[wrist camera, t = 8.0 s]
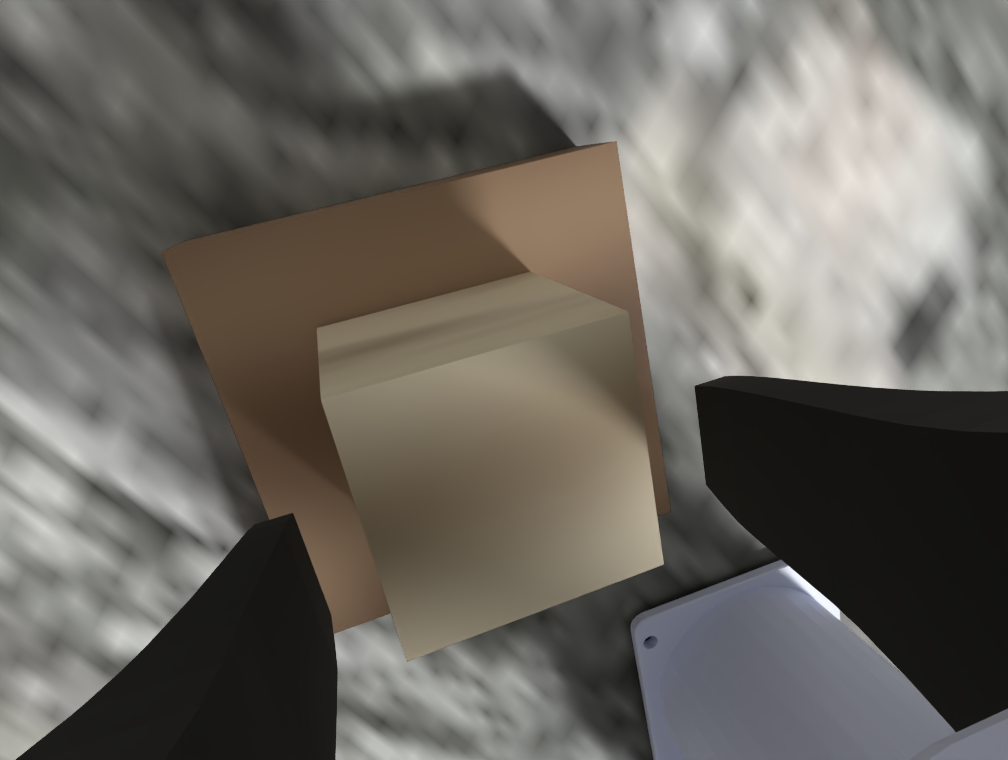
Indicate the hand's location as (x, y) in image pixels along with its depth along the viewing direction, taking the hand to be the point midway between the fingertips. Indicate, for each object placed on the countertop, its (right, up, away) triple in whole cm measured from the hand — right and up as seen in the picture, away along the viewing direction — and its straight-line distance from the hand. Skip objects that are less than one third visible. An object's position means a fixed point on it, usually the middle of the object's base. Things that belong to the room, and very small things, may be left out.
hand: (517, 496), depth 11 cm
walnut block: (-2, +2, +7) cm, 8 cm away
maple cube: (-1, +2, +4) cm, 5 cm away
